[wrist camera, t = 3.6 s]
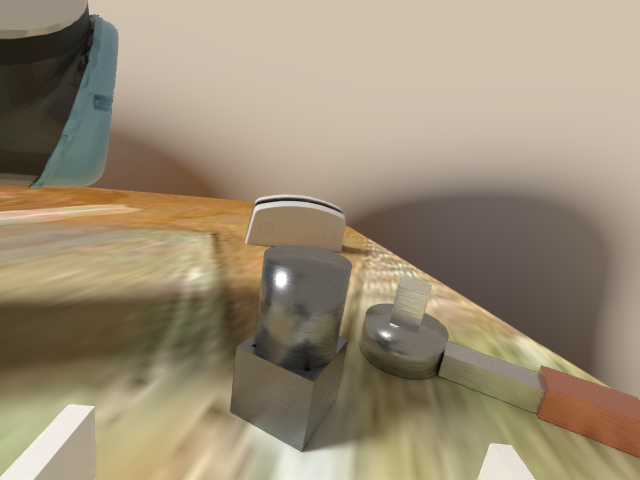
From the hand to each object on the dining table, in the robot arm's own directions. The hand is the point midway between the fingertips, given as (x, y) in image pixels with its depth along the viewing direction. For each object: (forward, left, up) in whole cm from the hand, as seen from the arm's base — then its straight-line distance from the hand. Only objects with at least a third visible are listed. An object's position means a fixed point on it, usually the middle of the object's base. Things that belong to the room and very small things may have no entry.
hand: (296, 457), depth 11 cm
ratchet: (+7, +19, -6) cm, 21 cm away
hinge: (-22, +40, -6) cm, 46 cm away
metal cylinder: (-4, +8, -6) cm, 11 cm away
